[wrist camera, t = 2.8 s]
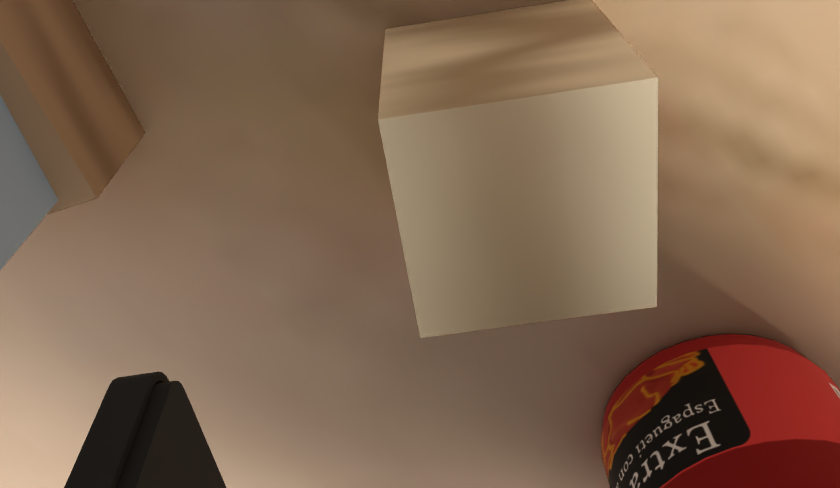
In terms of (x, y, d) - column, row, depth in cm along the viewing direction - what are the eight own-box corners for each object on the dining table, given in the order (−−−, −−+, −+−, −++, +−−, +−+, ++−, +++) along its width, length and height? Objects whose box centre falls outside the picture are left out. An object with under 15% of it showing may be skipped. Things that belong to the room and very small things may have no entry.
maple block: (588, -4, 19) (657, 77, 14) (596, 180, 21) (656, 306, 16) (385, 28, 19) (377, 119, 14) (416, 205, 22) (420, 338, 16)
